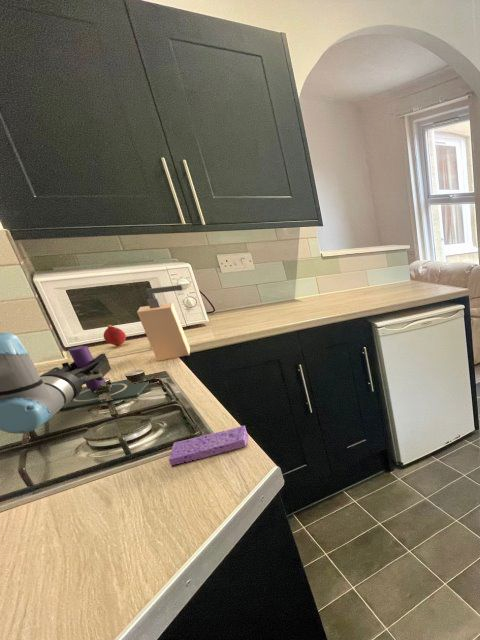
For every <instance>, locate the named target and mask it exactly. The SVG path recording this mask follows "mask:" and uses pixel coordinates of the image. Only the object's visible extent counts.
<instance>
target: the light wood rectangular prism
mask: <svg viewBox="0 0 480 640" xmlns="http://www.w3.org/2000/svg"><path fill="white" fill-rule="evenodd" d="M183 290H184V289H183V286H182V284H175V285H167V286H159V287H151V288H146V289H145V291H146V294H147V297H148V299H146V302H147V304H148V305H145V306H140V307H139V308H138V310H137V311H136V313H137V315H138V318H139V321H140V323H141V325H142V328H143V330H144V333H145V332H146V333H145V335H146V338H147V337H148V338H147V340H148V342H149V344H151V345H150V347H151V349H152V352H153V354H154V356H155V358H156V361H157V362H160V361H166V360H171V359H174V358H175V359H176V358H182V357H187V356H190V354H191V353H190V352H191V348H190V345H189V341H188V339H187V337H186V334H185V331H184V328H183V326H182V324H181V321H180V319H179V315H178V313H177V311H176V308H175V305H174V303H173V302H168V303H160V301H159V298H158V297H155V296H154V294H162V293H168V292H169V293H170V292H177V291H183Z"/></svg>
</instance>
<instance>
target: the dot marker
mask: <svg viewBox="0 0 480 640" xmlns="http://www.w3.org/2000/svg"><path fill="white" fill-rule="evenodd" d="M68 353H69V355H70V356H71V359H72V360H73V362H75V364H76V366H77V368H78V369H80V368H83V367H85V366H87V365H89V364H91V363H92V362H91V361H92V360H93V359H94V357H93V355H92V353H91V351H90V349H89V347H88V345H78V346H74V347H71V348H68ZM104 382H105V380H104V379H103V380H101V381H98V380H94V379H91V380H89V382H88V383H86V384H85V387H87V388H88V389H91V391H92V392H94V391H95V390H96V389H97V388H99V387H100V385H101V384H103V383H104Z"/></svg>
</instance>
